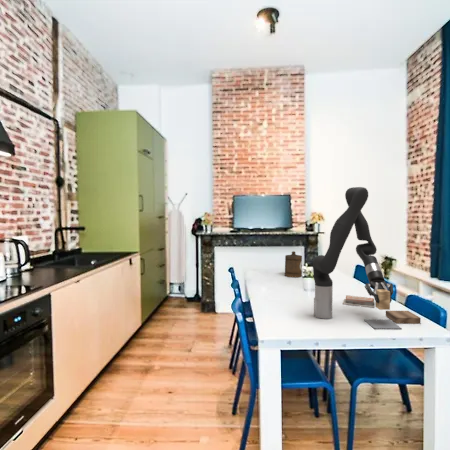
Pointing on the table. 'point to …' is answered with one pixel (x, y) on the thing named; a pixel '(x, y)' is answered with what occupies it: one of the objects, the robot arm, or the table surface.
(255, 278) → the table surface
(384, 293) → the maple block
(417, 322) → the walnut ledge
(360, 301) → the packaged product
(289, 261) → the wooden container
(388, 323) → the mat
